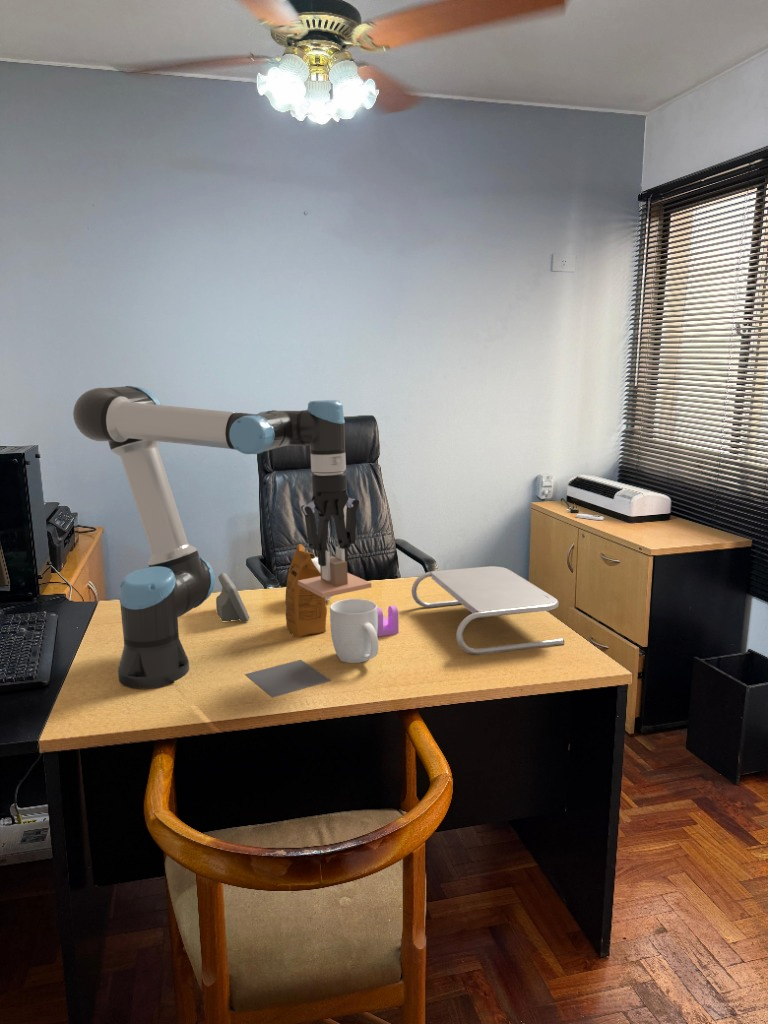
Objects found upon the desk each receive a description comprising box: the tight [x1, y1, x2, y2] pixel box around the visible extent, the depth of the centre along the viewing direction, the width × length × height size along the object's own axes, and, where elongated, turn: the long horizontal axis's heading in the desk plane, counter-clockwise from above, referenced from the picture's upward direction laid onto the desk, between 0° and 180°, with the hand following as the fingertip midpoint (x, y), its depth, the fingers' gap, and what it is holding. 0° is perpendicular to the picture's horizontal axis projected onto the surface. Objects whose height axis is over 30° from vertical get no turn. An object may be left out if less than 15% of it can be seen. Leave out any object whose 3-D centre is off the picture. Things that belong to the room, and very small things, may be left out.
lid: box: [298, 555, 372, 598], centre depth 159 cm, size 12×12×6 cm
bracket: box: [377, 605, 400, 637], centre depth 189 cm, size 13×6×7 cm, turn 21°
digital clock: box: [215, 572, 251, 623], centre depth 199 cm, size 16×9×11 cm, turn 11°
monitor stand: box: [411, 565, 565, 655], centre depth 189 cm, size 37×28×11 cm
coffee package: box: [285, 543, 328, 638], centre depth 186 cm, size 10×12×22 cm
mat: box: [244, 659, 332, 698], centre depth 158 cm, size 14×14×1 cm
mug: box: [329, 598, 379, 664], centre depth 166 cm, size 15×11×13 cm
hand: (333, 577), depth 160 cm, fingers closed on lid, 3 cm apart
